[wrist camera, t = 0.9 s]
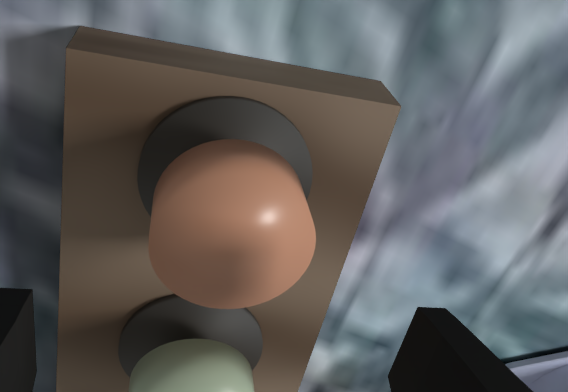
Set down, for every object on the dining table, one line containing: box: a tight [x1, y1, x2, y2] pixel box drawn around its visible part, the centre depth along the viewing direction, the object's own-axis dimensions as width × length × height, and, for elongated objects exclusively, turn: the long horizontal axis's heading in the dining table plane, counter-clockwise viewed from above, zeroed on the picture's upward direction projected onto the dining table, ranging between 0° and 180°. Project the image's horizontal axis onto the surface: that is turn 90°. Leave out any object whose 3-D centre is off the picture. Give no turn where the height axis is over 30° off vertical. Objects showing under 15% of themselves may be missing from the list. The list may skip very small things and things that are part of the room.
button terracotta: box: [148, 139, 316, 309], centre depth 14 cm, size 4×4×2 cm
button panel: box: [56, 26, 401, 392], centre depth 20 cm, size 20×9×2 cm, turn 167°
